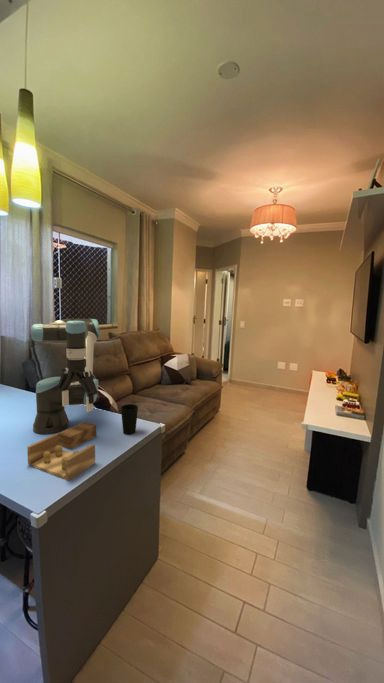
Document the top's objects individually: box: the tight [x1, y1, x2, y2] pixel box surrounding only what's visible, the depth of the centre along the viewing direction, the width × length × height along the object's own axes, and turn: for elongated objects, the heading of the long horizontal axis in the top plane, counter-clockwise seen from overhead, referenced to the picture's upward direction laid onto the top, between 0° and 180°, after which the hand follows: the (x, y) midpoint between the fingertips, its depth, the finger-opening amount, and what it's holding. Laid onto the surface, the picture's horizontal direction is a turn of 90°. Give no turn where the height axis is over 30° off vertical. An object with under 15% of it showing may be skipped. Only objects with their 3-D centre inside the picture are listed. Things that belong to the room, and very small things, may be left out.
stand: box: [26, 433, 96, 481], centre depth 103 cm, size 20×12×7 cm, turn 65°
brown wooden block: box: [57, 421, 97, 450], centre depth 121 cm, size 14×7×6 cm, turn 154°
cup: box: [120, 403, 139, 436], centre depth 130 cm, size 8×8×12 cm
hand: (77, 408), depth 119 cm, fingers open, 13 cm apart
